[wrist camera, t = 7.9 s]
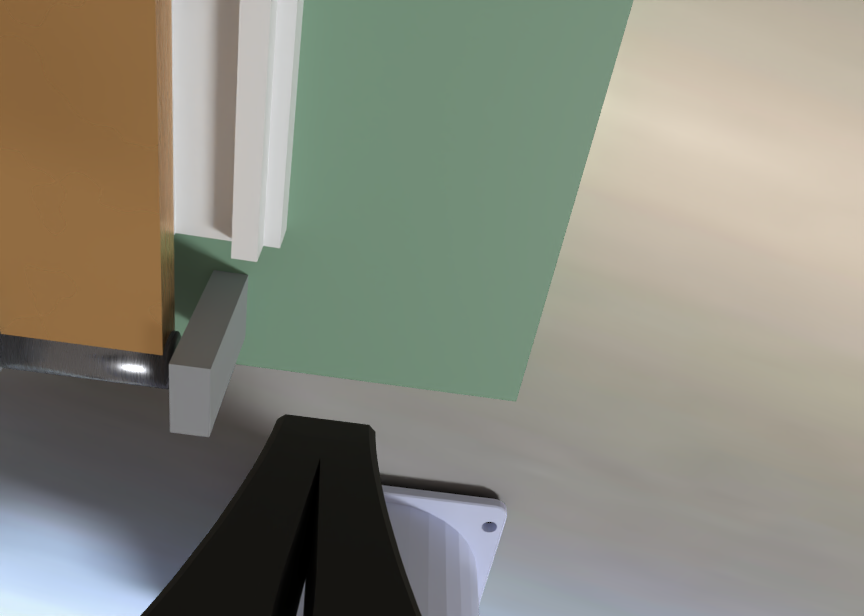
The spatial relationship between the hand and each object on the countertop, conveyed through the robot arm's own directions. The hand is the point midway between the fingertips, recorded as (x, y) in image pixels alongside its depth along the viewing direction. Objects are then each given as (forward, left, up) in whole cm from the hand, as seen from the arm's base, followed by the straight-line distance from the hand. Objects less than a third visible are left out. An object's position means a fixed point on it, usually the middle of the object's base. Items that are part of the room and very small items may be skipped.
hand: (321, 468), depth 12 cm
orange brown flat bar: (+3, +6, -7) cm, 10 cm away
